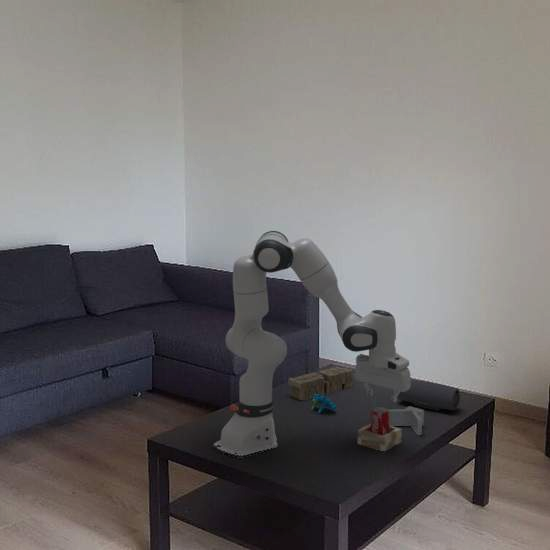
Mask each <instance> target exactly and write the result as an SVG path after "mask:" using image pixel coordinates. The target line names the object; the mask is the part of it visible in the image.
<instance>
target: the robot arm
mask: <svg viewBox="0 0 550 550" xmlns="http://www.w3.org/2000/svg"><path fill="white" fill-rule="evenodd" d="M289 268H291V269H292V271H293V272H294V273H295V275H296V276H297V278H298V279H299V281H300V282H301V284H302V285H303V286H304V288H305V289H306V290H307V291H308V293H310V294H311V295H312V296H314V297H317V298H319V299H321V300H322V301H323V303H324V304H325V306H326V307H327V308H328V310H329V311H330V313H331V314H332V316H333V317H334V319H335V321H336V328H337V333H338V335H339V336H340V338H341V341H342V344H343V345H344V347H345V348H346V349H347V350H349V351H351V352H355V353H357V352H363V351H368V355H367V354H363V353H360V354H358V355H356V358H355V369H354V379H355V380H356V381H358V382H362V383H363V386H364V387H365V390H366V395H367V396H369V397H371V396H373V395H374V389H372V388H371V386H370V385H374V386H377V387H381V388H385V389H390V390H393V393H394V394H393V395H391V396H390V402H391V403H396V402H397V401H398V398H397V396H398V395H399V393H400V391H401V392H405V391H407V390H409V389H410V387H411V379H412V378H411V371H410V369H409V368H408V367H409V366H410V361H409V360H408V359H407V358H405V357H404V356H402V355H401V354H399V353H397V351H396V350H397V348H396V345H395V344H396V339H397V325H396V319H395V317H394V315H393V314H392V313H391V312H388V311H386V310H381V309H374V310H373V309H372V311H371V312H370V313H368V314H367V315H365V316H362V315H360V314H358V313H356V312H355V311H354V310H353V309H352V308H351V307H350V305H349V304H348V303H347V301H346V299H345V298H344V296H343V295H342V293H341V290H340V288H339V285H338V278H337V275H336V272H335V271H334V268H333V266H332V265H331V263H330V261H329V259H328V258H327V257H326V256H325V254H324V252H323V251H322V250H321V249H320V248H319V247H318V246H317V244H315V242H314V241H313V240H312V239H309V238H300V239H298V240H295V241H293V242H289V239H288V238H287V236H286V235H285V234H283V233H282V232H280V231H277V230H270V231H267V232H264V233H263V234H262V235H261V236H260V237H259V238H258V240H257V241H256V244H255V247H254V249H253V253H252V254H251V255H245V256H242V257H240V258H238V259H237V260H235V262H234V264H233V270H232V271H233V272H232V289H233V301H234V303H233V304H234V321H233V324H232V327H231V328H229V330H228V331H227V333H226V335H225V336H226V337H225V345H226V347H227V349H228V350H229V351H230V352H231V353H233V354H234V355H235V356H237V357H239V358H242V359H244V360H247V363H248V364H247V370H246V372H244V373H242V375H241V376H240V377H239V381H238V382H239V383H238V384H239V386H238V388H239V389H238V390H239V392H238V393H239V396H238V397H239V400H238V402H237V404H236V405H235V404H234V403H231V405H230V408H229V409H230V410H231V411H234V412H235V413H234V414H233V415H232V417H230V419H229V420H228V422H227V423H226V424H225V425H224V427H223V428H222V430H221V435H220V440H217V441H216V442H214V443H213V446H214V445H215V446H217V445H220V446H221V447H217V448H218V449H220V450H222V451H225V452H228V453H231V454H235V453H237V454H235V455H239V456H240V455H241V456H243V455H248V454H251V453H255V452H258V451H262V452H264V451H263V450H266V451H268V450H267V449H269V450H271V448H272V449H275V448H277V447H278V446H279V445H278V442H277V441H278V438H277V436H276V429H275V421H274V415H273V412H274V399H273V380H274V374H275V372H276V370H277V367H278V366H280V365H281V364H282V363H283V362H284V361H285V359H286V356H287V353H288V352H287V351H288V347H287V344H286V341H285V340H284V339H283V338H281V337H279V336H278V335H276V333H273V332H269V331H266V330H263V328H262V322H263V318H264V317H265V316H266V315H267V314H268V312H269V310H270V309H269V297H268V296H269V295H268V286H267V273H270V274H271V273H276V272H279V271H284V270H288V269H289Z"/></svg>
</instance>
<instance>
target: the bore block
mask: <svg viewBox="0 0 550 550" xmlns="http://www.w3.org/2000/svg"><path fill="white" fill-rule="evenodd" d="M402 429H403V428H402V427H394V426H390V425H389V433H387V434H385V435H380V434H377V433H373V432H371V423H369V424H367V425H365V426H363V427H361V428H358V429H357V445H361V446H364V447H366V448H369V449H372V448H373V449H372V450H375V449H376V450H375V451H378V450H380V451H379V452H381V451H386V450H387V449H389V448H391V447H393V446H394V445H397V444H398V443H400V442H401V443H402V435H403V430H402ZM401 443H400V444H401ZM398 445H399V444H398ZM398 445H397V446H398ZM393 448H394V447H393ZM391 449H392V448H391ZM389 450H390V449H389ZM386 452H387V451H386Z"/></svg>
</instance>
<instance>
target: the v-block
mask: <svg viewBox="0 0 550 550" xmlns="http://www.w3.org/2000/svg"><path fill="white" fill-rule="evenodd" d="M388 412H389V414H390V422H389V425H390V426H411V429H412V428H413V429H414V431H415V432H416V434H417V435H422V434H423V433H422V432H423V426H424V419H425V418H424V416H425V410H424V409H421V408H419V407H414V406H411V405H409V406H408V407H407V406H406V407H405V408H403V409H402V408H401V409H399V408H398V409H388ZM422 425H423V426H422ZM413 429H412V430H413ZM414 431H413V432H414ZM415 432H414V433H415ZM416 434H415V435H416ZM417 435H416V436H417Z"/></svg>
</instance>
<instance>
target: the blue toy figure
mask: <svg viewBox="0 0 550 550" xmlns="http://www.w3.org/2000/svg"><path fill="white" fill-rule="evenodd" d="M312 403H313V405H312V407H311V409H310V410H311V411H313V410H314V409H315V407H317V406H318V407H319V409H318V411H317V414H318V415H320V414H321V413H322V410H323V409H324V408H326V409H329V410H331V411H333V410H334V411H336V410H337V408H338V405H336V404H335V402H333V401H331V399H329V398H326V397H325V395H322V396H320V395H319V394H317V395H316V394H314V396H313V398H312Z"/></svg>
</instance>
